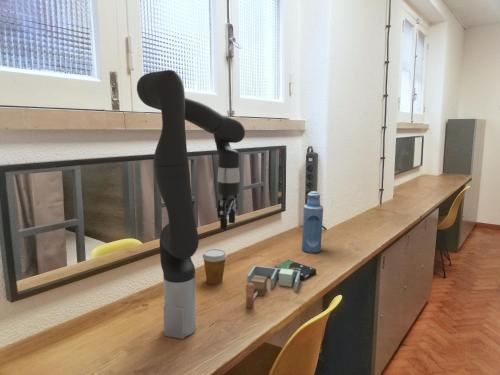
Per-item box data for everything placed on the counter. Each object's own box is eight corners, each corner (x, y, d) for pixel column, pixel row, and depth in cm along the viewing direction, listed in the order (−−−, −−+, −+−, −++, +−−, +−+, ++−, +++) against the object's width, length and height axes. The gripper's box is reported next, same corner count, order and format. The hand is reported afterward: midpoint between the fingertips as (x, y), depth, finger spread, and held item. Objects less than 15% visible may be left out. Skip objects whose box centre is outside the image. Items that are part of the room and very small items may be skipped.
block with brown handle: (255, 309, 121) (256, 287, 120) (241, 306, 123) (242, 285, 121) (266, 289, 136) (267, 269, 135) (254, 287, 138) (254, 267, 136)
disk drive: (316, 275, 151) (287, 265, 161) (316, 268, 151) (288, 259, 161) (302, 282, 144) (273, 271, 153) (303, 276, 143) (274, 265, 153)
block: (291, 286, 139) (291, 274, 138) (278, 285, 140) (279, 273, 139) (293, 281, 143) (293, 269, 143) (280, 280, 145) (281, 268, 144)
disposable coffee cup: (229, 277, 146) (229, 249, 144) (221, 287, 137) (221, 258, 135) (208, 274, 148) (207, 247, 146) (198, 284, 139) (198, 255, 137)
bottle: (319, 247, 184) (322, 190, 179) (321, 254, 174) (325, 194, 169) (301, 246, 185) (303, 189, 180) (302, 253, 175) (304, 193, 170)
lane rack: (296, 292, 134) (296, 282, 134) (247, 285, 139) (247, 275, 138) (299, 280, 145) (300, 270, 144) (254, 274, 149) (254, 265, 149)
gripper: (232, 184, 114) (231, 232, 117) (244, 178, 128) (243, 221, 131) (210, 182, 116) (210, 230, 119) (225, 177, 130) (224, 220, 133)
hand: (227, 225), depth 125 cm, fingers open, 8 cm apart
